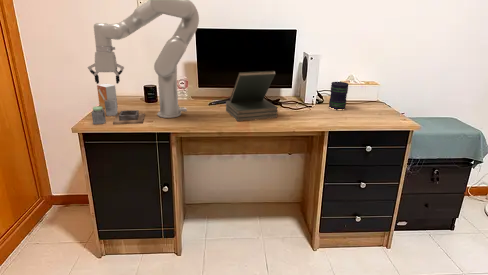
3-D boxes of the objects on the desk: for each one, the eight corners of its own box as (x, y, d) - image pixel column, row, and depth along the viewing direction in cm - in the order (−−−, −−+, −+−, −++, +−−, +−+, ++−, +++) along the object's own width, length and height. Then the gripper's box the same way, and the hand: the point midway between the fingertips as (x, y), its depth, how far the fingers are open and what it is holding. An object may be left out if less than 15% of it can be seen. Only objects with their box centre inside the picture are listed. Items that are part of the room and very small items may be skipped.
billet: (117, 113, 187) (116, 98, 184) (116, 115, 182) (114, 101, 179) (108, 113, 186) (106, 98, 183) (106, 116, 181) (104, 101, 178)
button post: (105, 120, 174) (104, 109, 172) (103, 123, 169) (102, 112, 167) (95, 121, 173) (93, 109, 171) (93, 124, 169) (91, 112, 166)
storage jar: (347, 110, 201) (350, 85, 196) (330, 110, 201) (333, 85, 196) (343, 106, 211) (346, 81, 205) (327, 105, 211) (329, 81, 205)
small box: (99, 107, 196) (96, 84, 191) (109, 105, 201) (106, 83, 196) (108, 110, 191) (105, 86, 187) (118, 107, 196) (115, 85, 192)
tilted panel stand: (263, 108, 202) (265, 65, 193) (277, 118, 185) (280, 71, 176) (225, 111, 195) (226, 67, 186) (236, 122, 178) (237, 73, 169)
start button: (104, 119, 173) (103, 106, 171) (103, 122, 169) (101, 108, 167) (95, 119, 173) (93, 106, 170) (93, 122, 169) (91, 108, 166)
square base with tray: (144, 115, 184) (144, 108, 183) (142, 123, 172) (142, 116, 170) (117, 115, 182) (116, 109, 180) (113, 124, 169) (112, 117, 168)
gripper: (123, 48, 177) (126, 81, 183) (87, 48, 174) (91, 81, 180) (121, 50, 170) (124, 84, 176) (83, 49, 167) (88, 84, 173)
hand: (107, 83), depth 178 cm, fingers open, 9 cm apart
